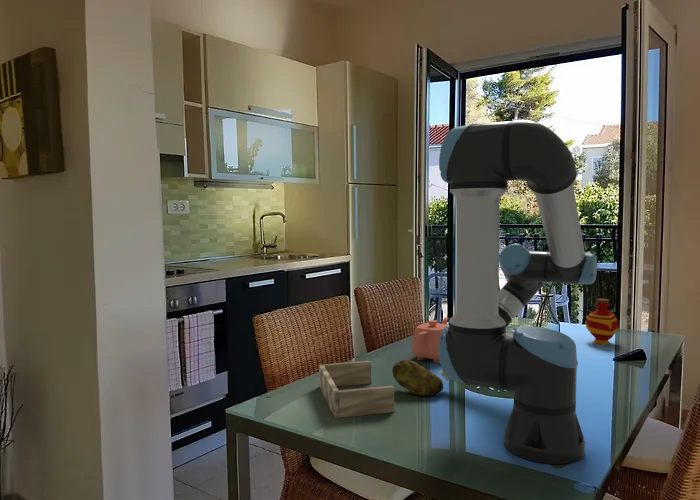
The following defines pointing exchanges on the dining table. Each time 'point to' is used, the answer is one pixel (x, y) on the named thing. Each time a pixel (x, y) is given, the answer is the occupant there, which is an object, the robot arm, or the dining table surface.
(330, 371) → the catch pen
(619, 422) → the dining table surface
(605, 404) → the dining table surface
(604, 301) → the red yellow vase
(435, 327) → the teapot
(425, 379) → the potato
